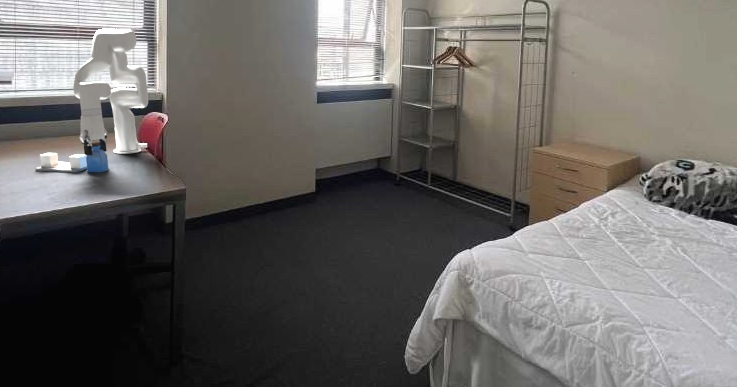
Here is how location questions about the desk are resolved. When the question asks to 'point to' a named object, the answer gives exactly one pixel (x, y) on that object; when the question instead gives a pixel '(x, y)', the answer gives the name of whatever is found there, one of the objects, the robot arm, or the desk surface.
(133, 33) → the robot arm
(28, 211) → the desk surface
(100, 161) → the perfume bottle
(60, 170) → the module rail
